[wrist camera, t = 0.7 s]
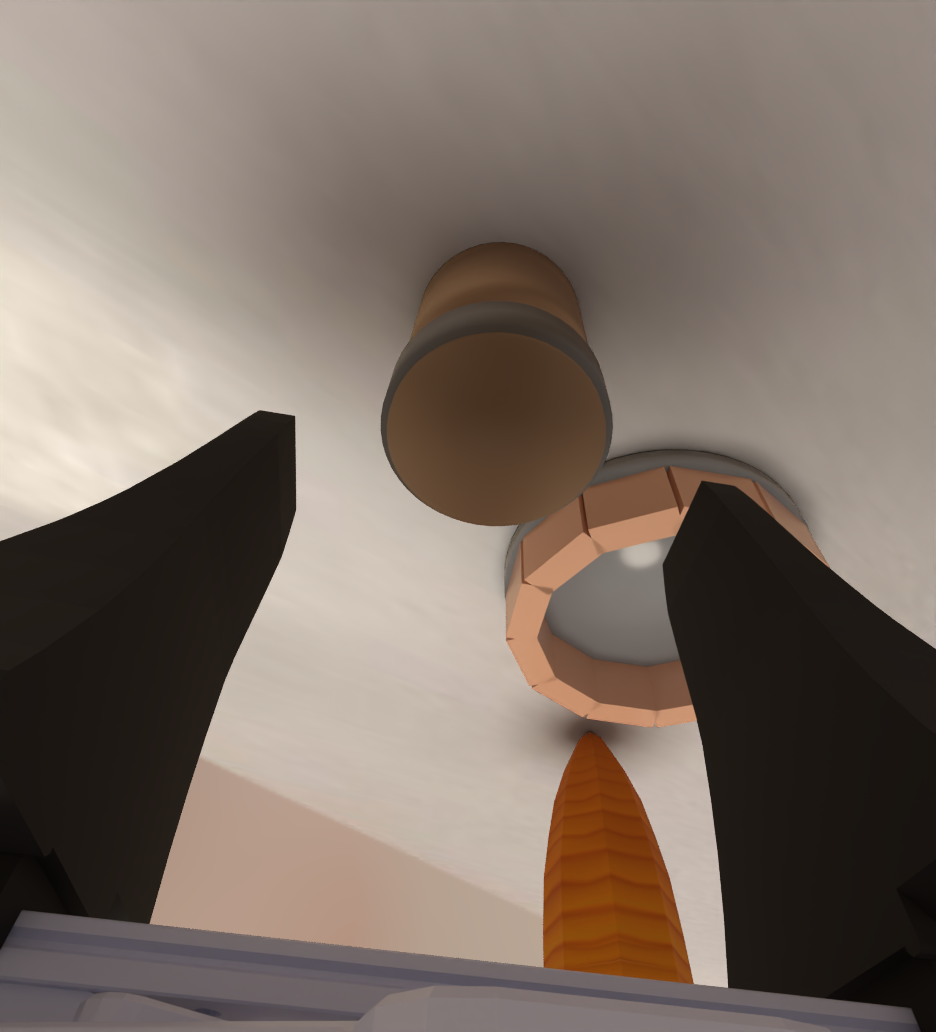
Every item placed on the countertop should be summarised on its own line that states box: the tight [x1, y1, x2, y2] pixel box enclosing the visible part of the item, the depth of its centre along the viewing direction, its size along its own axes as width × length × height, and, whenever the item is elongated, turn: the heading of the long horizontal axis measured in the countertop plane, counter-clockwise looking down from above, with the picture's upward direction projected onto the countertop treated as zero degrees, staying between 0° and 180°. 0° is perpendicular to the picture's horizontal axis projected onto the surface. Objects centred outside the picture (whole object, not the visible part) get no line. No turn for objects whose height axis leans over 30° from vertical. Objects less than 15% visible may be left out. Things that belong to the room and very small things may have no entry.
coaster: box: [505, 450, 830, 727], centre depth 22 cm, size 10×10×3 cm
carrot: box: [543, 732, 694, 984], centre depth 23 cm, size 5×5×15 cm
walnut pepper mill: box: [381, 242, 613, 526], centre depth 15 cm, size 5×5×6 cm
